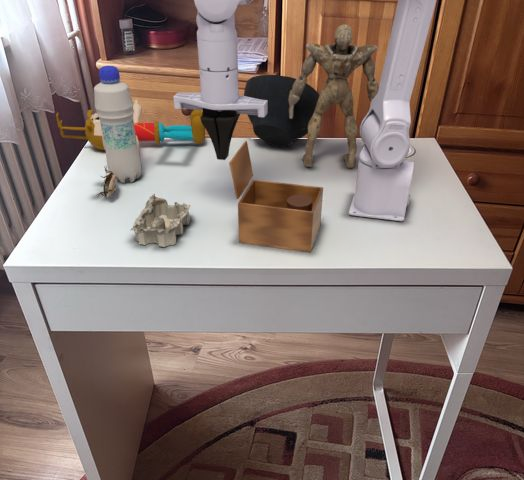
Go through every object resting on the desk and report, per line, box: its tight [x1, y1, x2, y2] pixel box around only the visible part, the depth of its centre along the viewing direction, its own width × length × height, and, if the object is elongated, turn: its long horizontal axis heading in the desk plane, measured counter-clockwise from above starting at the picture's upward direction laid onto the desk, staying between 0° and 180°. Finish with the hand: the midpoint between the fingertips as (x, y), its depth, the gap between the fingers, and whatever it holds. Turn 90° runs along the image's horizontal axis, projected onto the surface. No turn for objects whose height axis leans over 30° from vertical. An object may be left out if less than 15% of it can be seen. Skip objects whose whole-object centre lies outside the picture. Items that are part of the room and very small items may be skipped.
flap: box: [228, 140, 254, 200], centre depth 85 cm, size 6×9×1 cm
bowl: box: [243, 74, 320, 148], centre depth 115 cm, size 17×17×10 cm
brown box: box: [237, 179, 324, 253], centre depth 88 cm, size 12×9×7 cm
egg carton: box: [130, 193, 191, 248], centre depth 90 cm, size 11×8×4 cm
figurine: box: [288, 23, 379, 169], centre depth 104 cm, size 18×8×25 cm, turn 91°
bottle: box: [93, 65, 142, 184], centre depth 100 cm, size 7×7×20 cm
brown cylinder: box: [287, 195, 312, 211], centre depth 88 cm, size 4×4×6 cm
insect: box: [95, 164, 118, 198], centre depth 100 cm, size 6×9×3 cm
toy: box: [55, 99, 206, 153], centre depth 116 cm, size 25×8×30 cm
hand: (222, 157), depth 90 cm, fingers closed
